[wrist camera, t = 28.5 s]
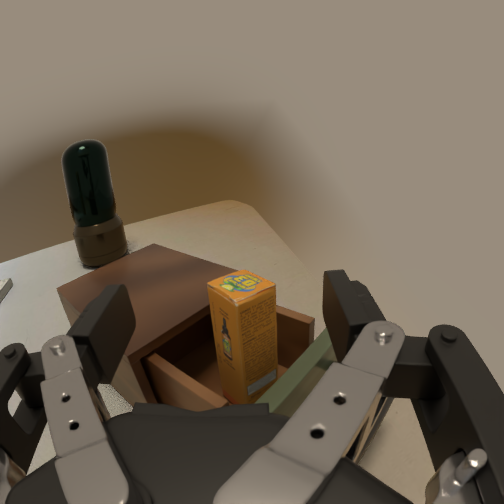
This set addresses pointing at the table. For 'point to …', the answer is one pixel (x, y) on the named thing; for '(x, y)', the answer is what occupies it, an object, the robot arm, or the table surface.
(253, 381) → the supplement box
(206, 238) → the table surface
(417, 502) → the table surface
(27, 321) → the table surface
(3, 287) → the hard drive
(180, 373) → the drawer
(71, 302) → the cabinet
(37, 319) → the table surface
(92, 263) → the lamp
